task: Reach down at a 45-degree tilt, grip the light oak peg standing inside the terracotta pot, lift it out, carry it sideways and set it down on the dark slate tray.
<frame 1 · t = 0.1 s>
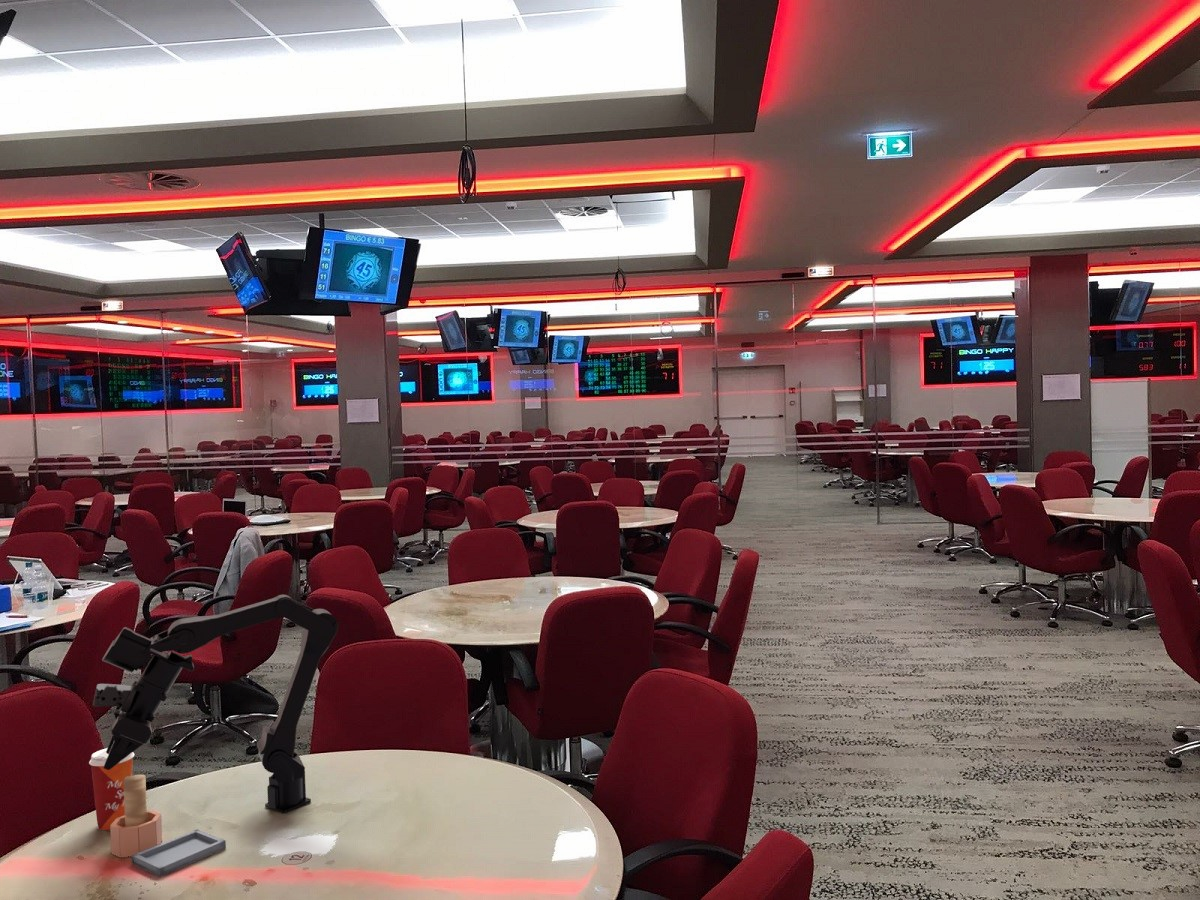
hand: (107, 761, 161), 15 cm above the table, tool tilted 30°, fingers open, 9 cm apart
slate tray: (179, 856, 154), on the table
pot: (137, 847, 158), on the table
oak peg: (135, 812, 158), in the pot
paper cup: (114, 825, 169), on the table
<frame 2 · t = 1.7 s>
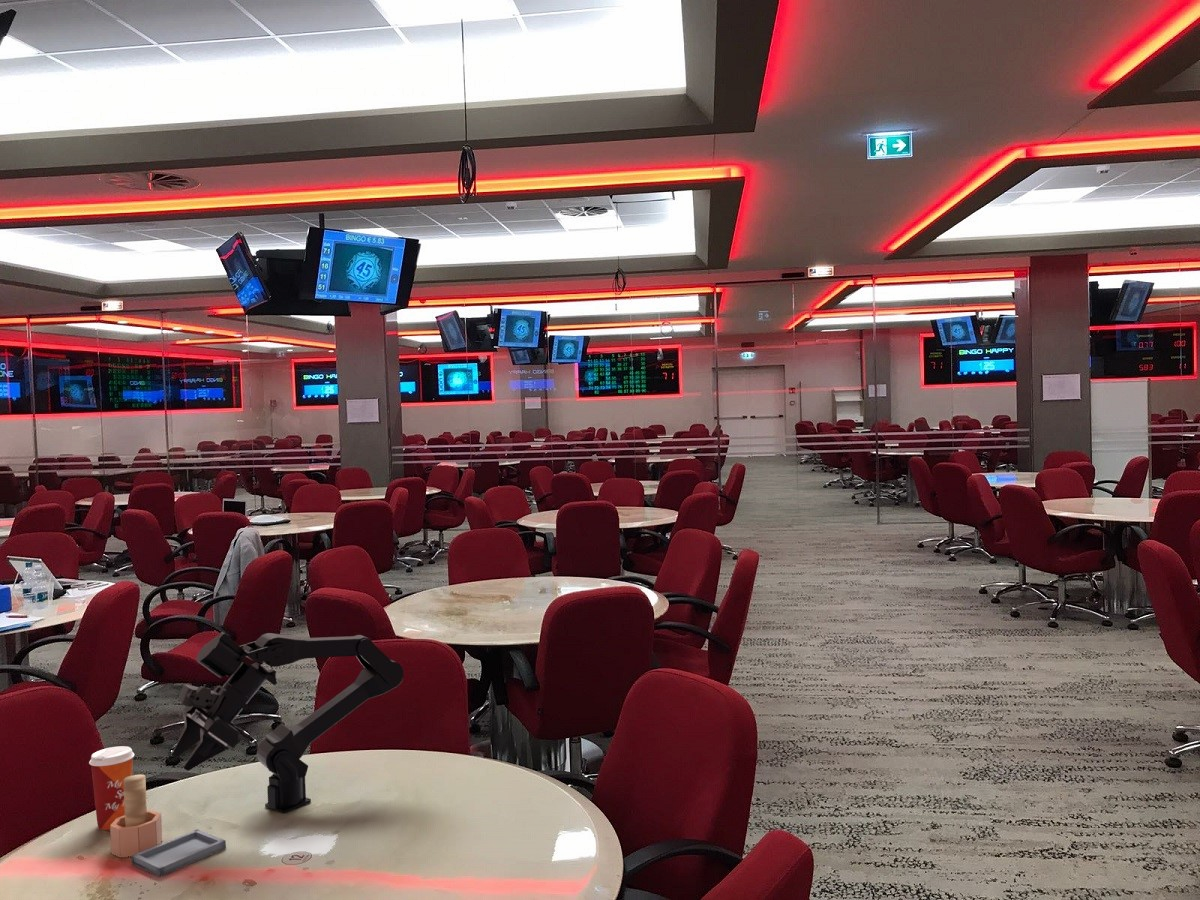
hand: (179, 762, 163), 13 cm above the table, tool tilted 45°, fingers open, 9 cm apart
nothing on the table moved.
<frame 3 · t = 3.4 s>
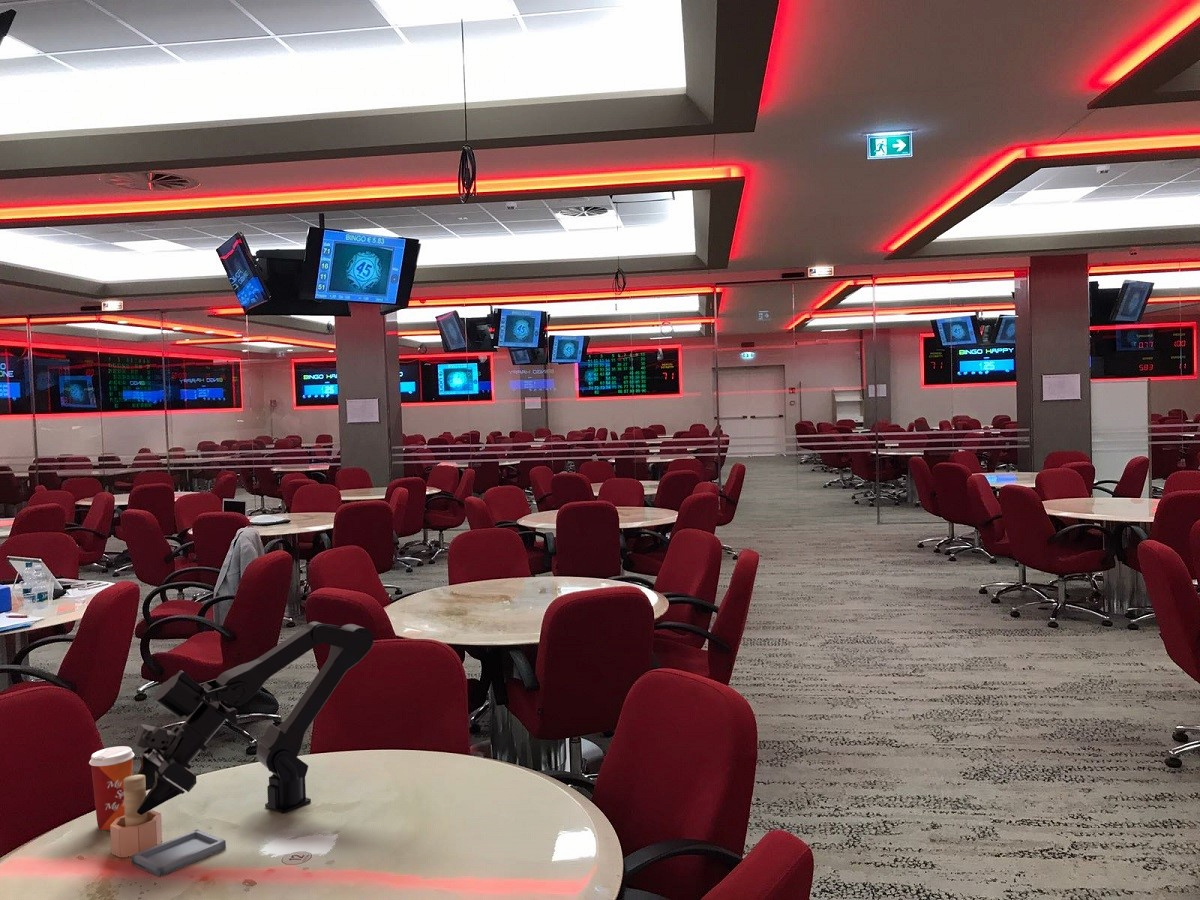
hand: (133, 805, 158), 8 cm above the table, tool tilted 45°, fingers open, 9 cm apart
nothing on the table moved.
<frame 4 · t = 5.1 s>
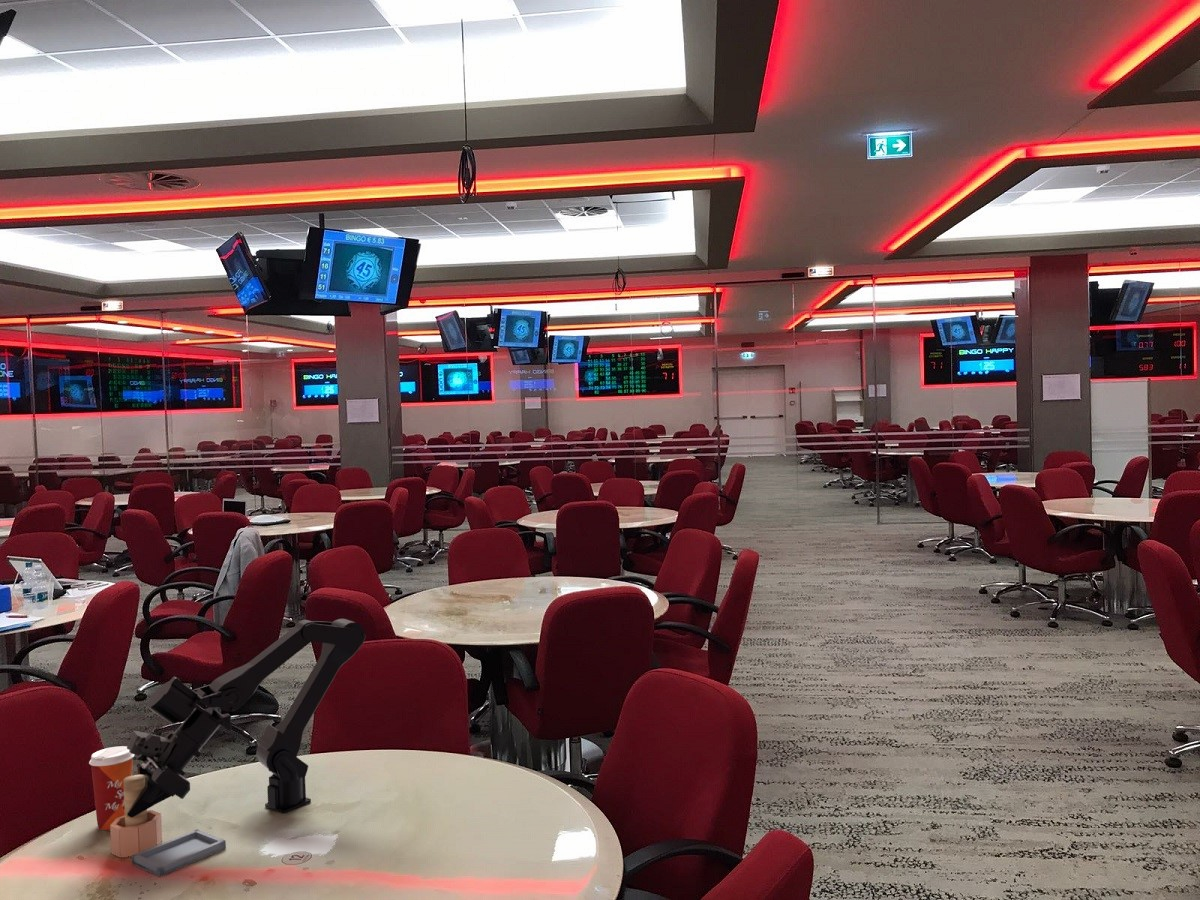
hand: (127, 812, 158), 7 cm above the table, tool tilted 45°, fingers closed on oak peg, 3 cm apart
oak peg: (135, 812, 158), in the pot, touching gripper
everything else where it was.
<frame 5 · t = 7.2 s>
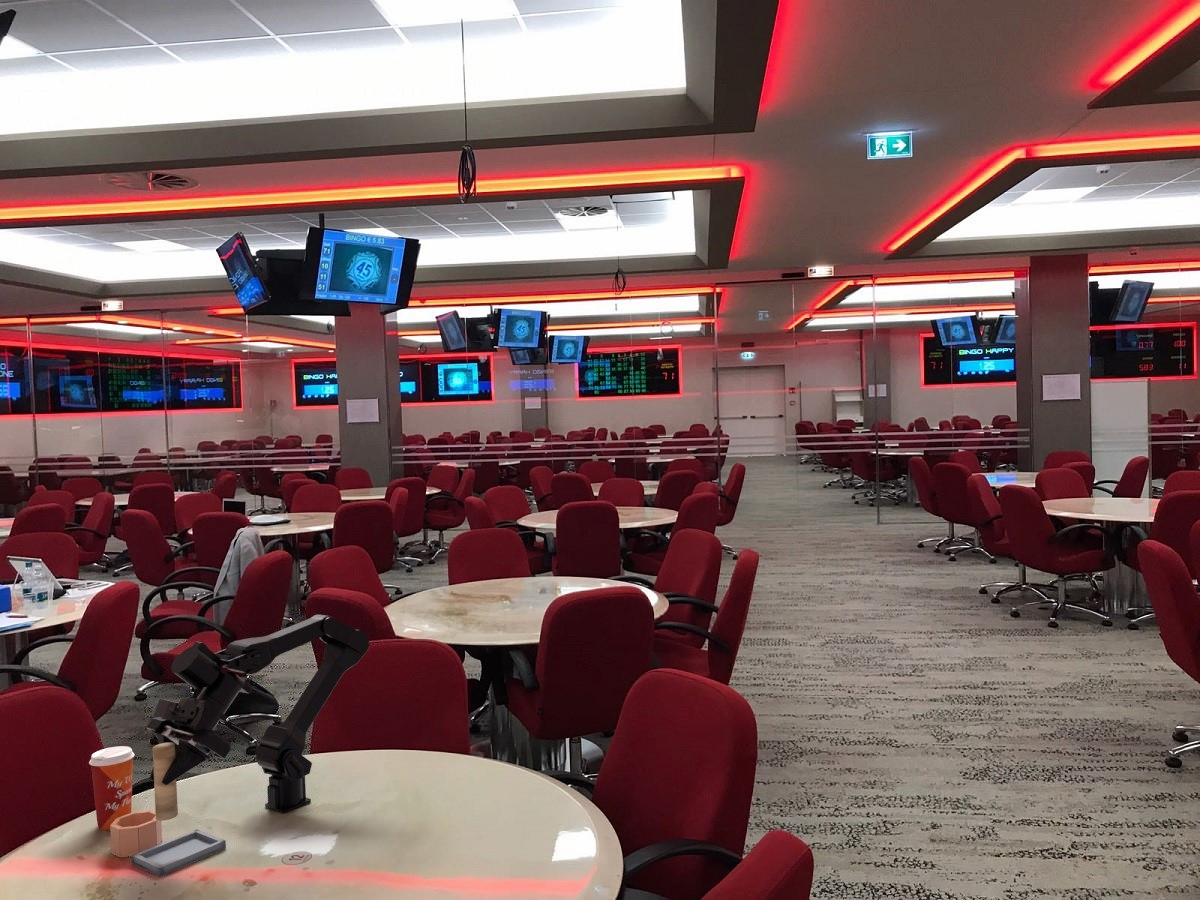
hand: (157, 781, 154), 13 cm above the table, tool tilted 45°, fingers closed on oak peg, 3 cm apart
oak peg: (165, 781, 155), point 13 cm above the table, touching gripper
everything else where it was.
when the fingers open (9 cm above the table, at t = 9.3 s): oak peg drops 1 cm, resting on slate tray.
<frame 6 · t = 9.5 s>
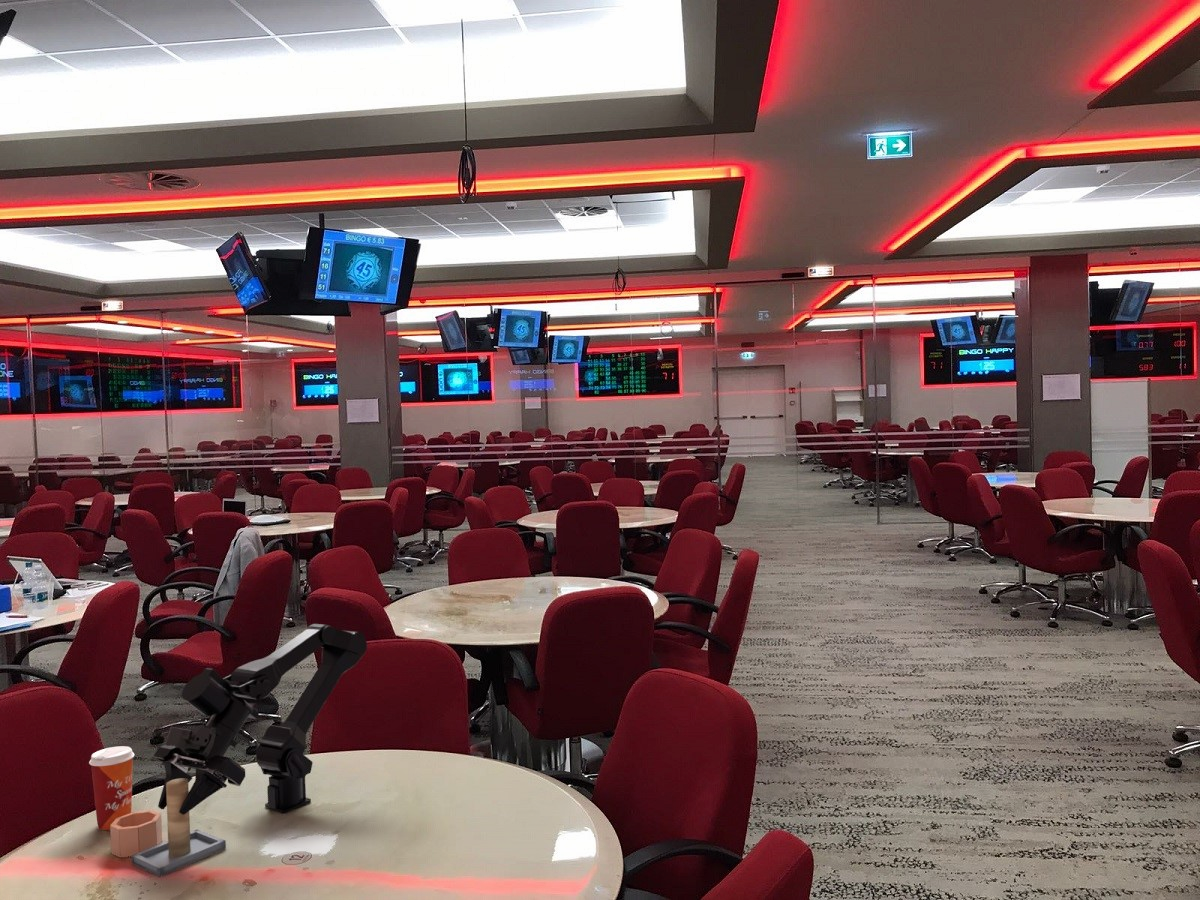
hand: (170, 810, 153), 9 cm above the table, tool tilted 45°, fingers open, 5 cm apart
oak peg: (178, 817, 154), point 7 cm above the table, touching slate tray
everything else where it was.
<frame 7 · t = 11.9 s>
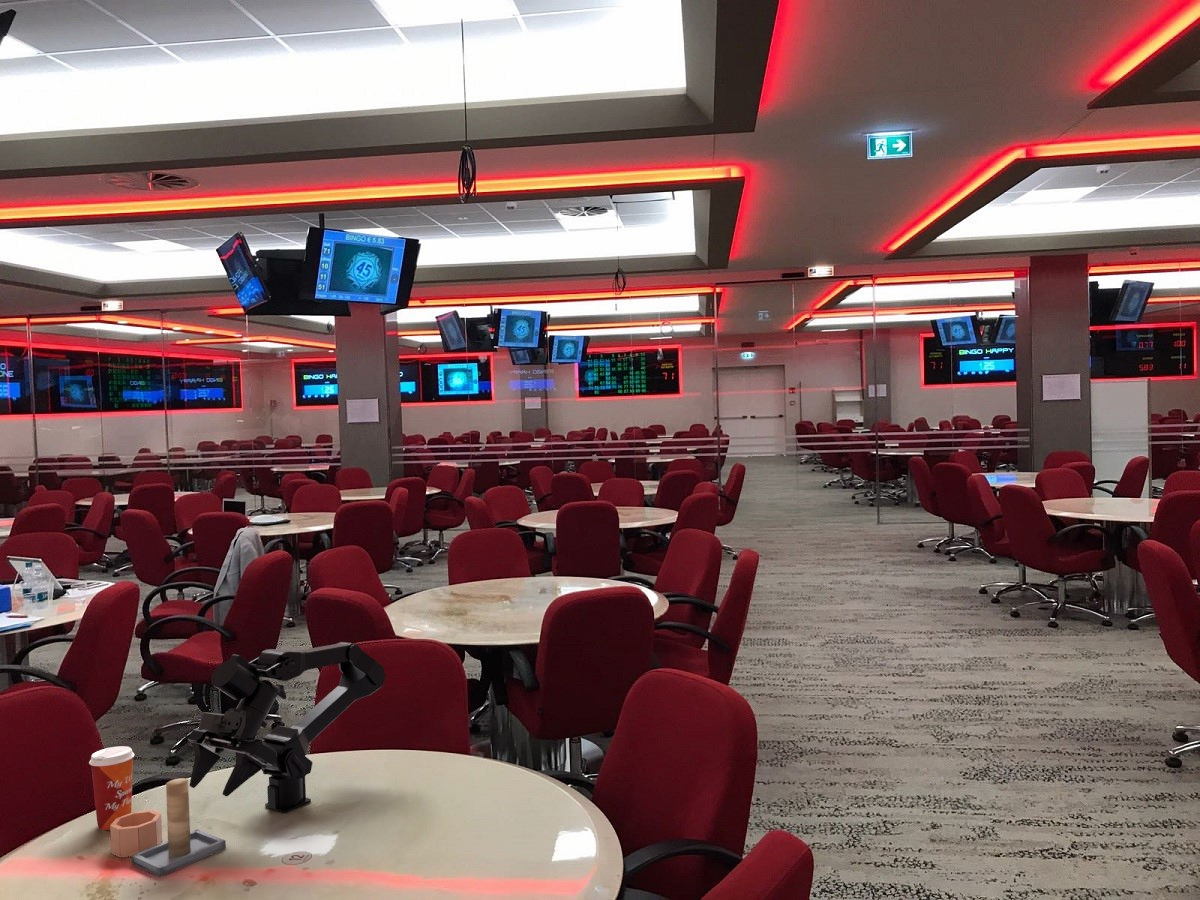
hand: (207, 791, 160), 9 cm above the table, tool tilted 40°, fingers open, 9 cm apart
nothing on the table moved.
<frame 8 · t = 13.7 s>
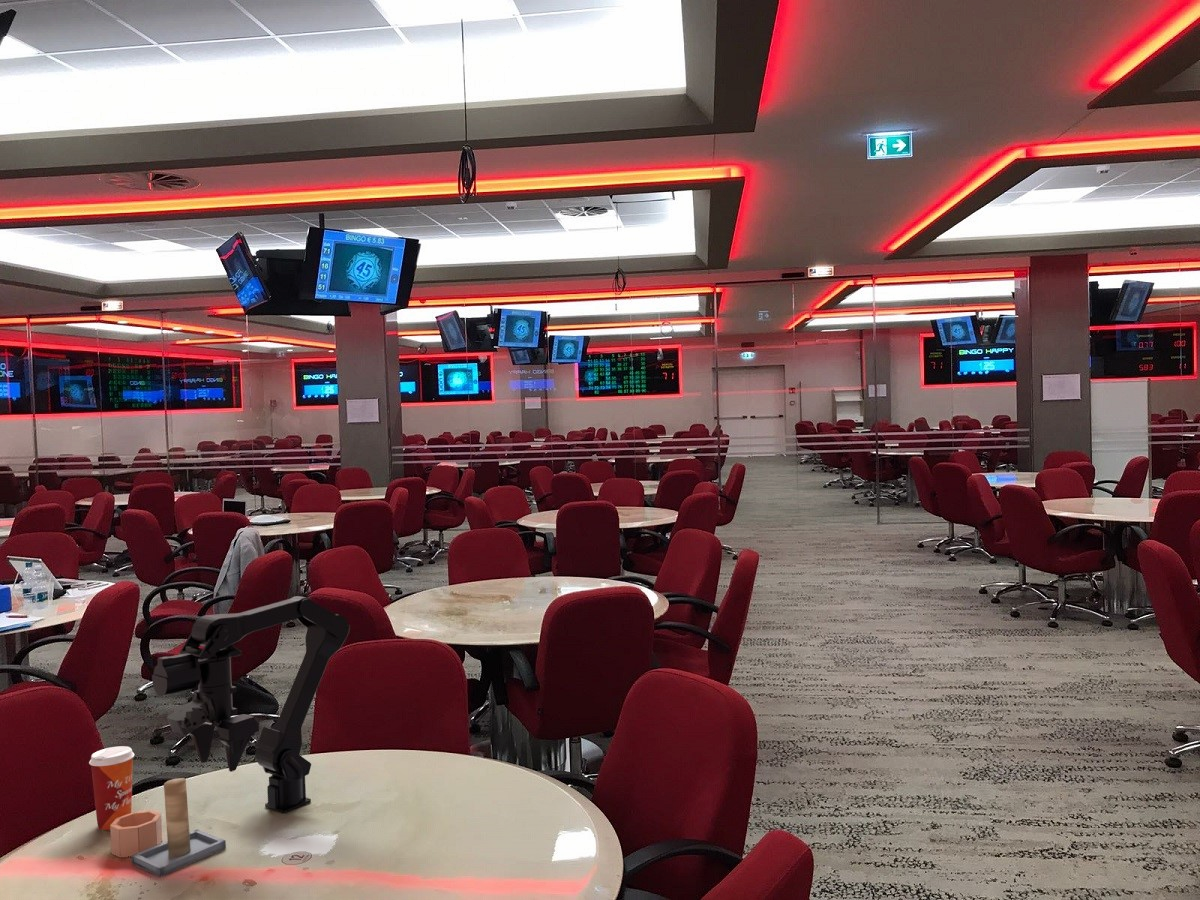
hand: (218, 766, 164), 12 cm above the table, tool pointing down, fingers open, 9 cm apart
nothing on the table moved.
at the end: oak peg inside the target area on the slate tray (0.0 cm from its centre), point 6.9 cm above the slate tray's base; oak peg touching slate tray; the gripper is holding nothing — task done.
